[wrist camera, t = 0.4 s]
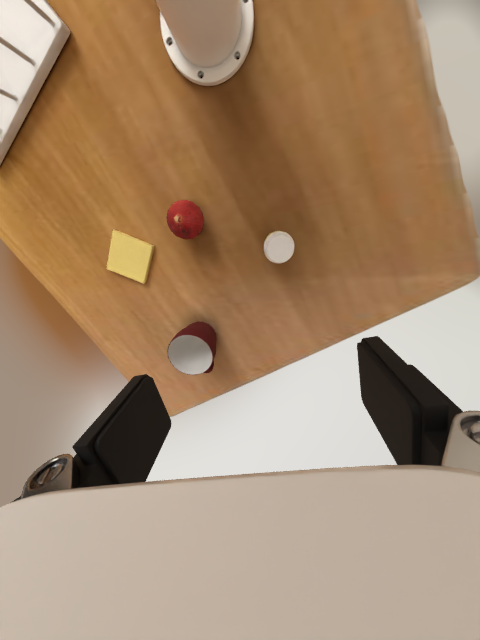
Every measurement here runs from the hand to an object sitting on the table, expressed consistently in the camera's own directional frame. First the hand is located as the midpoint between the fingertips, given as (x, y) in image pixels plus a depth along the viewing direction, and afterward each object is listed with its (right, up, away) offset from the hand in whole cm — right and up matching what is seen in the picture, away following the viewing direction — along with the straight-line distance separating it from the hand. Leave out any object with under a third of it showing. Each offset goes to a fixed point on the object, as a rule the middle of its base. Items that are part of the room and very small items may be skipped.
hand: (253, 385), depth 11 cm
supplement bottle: (+6, +16, +32) cm, 36 cm away
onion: (-9, +21, +31) cm, 39 cm away
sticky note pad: (-21, +15, +35) cm, 43 cm away
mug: (-8, 0, +40) cm, 41 cm away
